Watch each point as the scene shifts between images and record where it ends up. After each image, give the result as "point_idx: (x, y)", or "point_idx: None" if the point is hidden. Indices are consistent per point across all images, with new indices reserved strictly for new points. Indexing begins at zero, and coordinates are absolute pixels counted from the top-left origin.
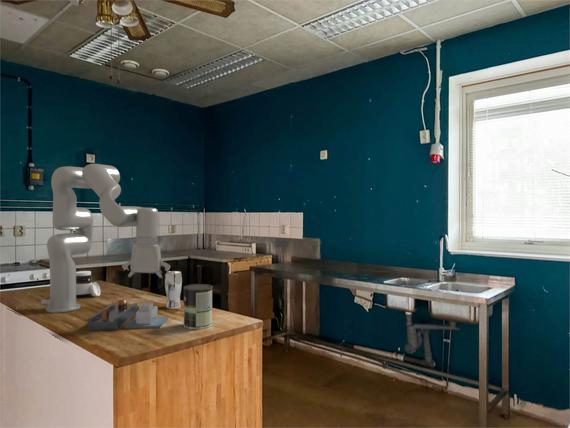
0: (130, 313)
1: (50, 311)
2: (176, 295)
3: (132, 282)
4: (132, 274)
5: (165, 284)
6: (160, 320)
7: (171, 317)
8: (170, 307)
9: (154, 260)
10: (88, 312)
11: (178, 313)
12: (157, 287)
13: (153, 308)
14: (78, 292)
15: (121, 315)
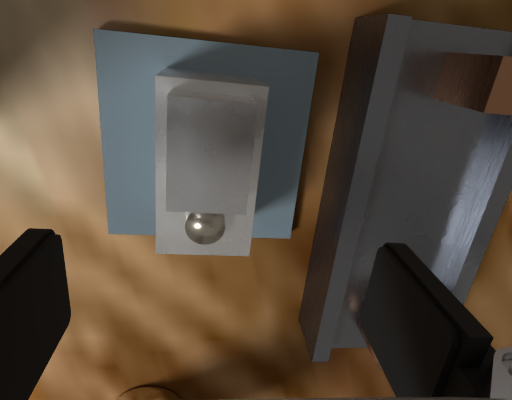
0: (324, 245)
1: None
2: None
3: (411, 286)
4: (496, 394)
5: None
6: (129, 157)
7: (99, 251)
8: (154, 392)
9: None
10: (508, 339)
11: (85, 317)
12: (49, 236)
13: (164, 188)
14: None
15: (367, 104)
